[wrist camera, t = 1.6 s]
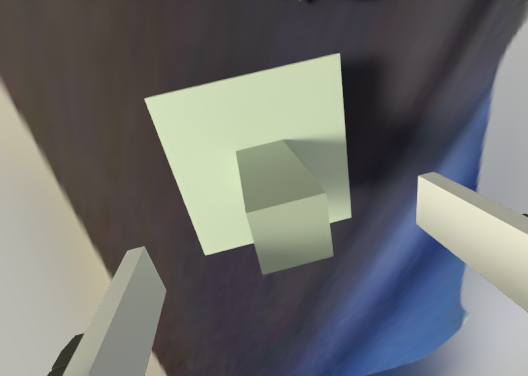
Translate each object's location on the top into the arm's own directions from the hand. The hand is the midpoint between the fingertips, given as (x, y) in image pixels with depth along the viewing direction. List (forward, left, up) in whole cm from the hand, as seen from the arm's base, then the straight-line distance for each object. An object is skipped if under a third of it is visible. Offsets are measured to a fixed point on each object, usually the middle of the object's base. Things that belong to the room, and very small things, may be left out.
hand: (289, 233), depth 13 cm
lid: (0, 0, -10) cm, 10 cm away
